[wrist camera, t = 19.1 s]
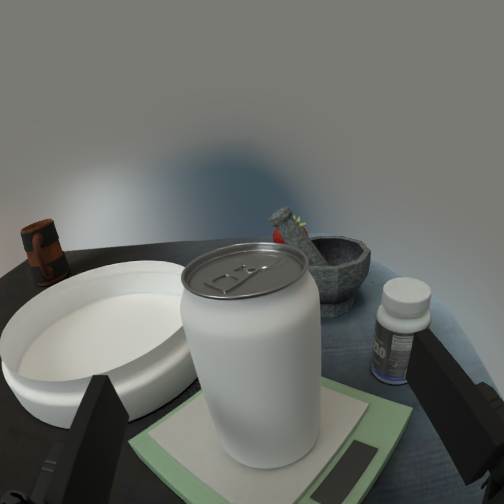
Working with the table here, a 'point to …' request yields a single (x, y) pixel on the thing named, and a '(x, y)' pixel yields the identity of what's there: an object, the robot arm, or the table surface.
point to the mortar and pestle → (328, 263)
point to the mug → (44, 253)
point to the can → (256, 349)
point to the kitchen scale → (286, 477)
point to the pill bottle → (399, 327)
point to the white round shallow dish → (100, 341)
